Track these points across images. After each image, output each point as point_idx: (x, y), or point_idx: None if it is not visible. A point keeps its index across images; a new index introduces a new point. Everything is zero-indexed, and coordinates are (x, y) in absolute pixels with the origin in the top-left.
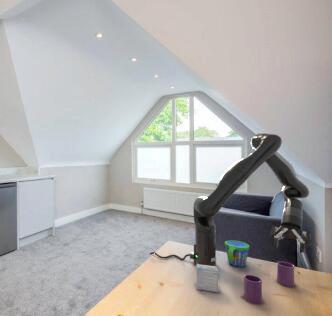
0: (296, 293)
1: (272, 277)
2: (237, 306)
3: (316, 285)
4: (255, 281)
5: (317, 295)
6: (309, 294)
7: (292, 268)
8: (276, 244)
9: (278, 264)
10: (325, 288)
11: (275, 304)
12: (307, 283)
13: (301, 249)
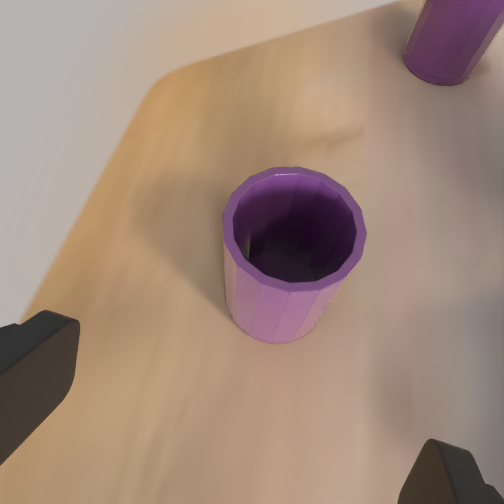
0: None
1: (351, 358)
2: None
3: None
4: (471, 2)
5: (131, 207)
6: (172, 201)
7: (247, 183)
8: (453, 461)
9: (356, 205)
10: None
11: (351, 58)
12: (122, 364)
13: (33, 318)
